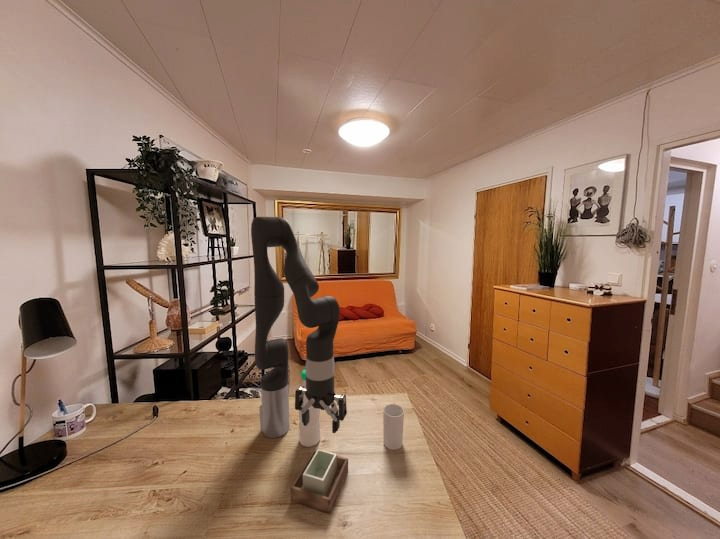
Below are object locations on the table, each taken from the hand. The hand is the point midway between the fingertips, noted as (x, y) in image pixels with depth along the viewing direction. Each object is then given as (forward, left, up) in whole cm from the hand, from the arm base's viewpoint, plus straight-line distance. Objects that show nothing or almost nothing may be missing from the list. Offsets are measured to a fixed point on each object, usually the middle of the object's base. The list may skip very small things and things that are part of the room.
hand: (320, 427), depth 73 cm
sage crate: (0, 0, -17) cm, 17 cm away
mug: (+16, +23, -18) cm, 33 cm away
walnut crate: (0, 0, -18) cm, 18 cm away
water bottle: (-11, +14, -18) cm, 25 cm away
